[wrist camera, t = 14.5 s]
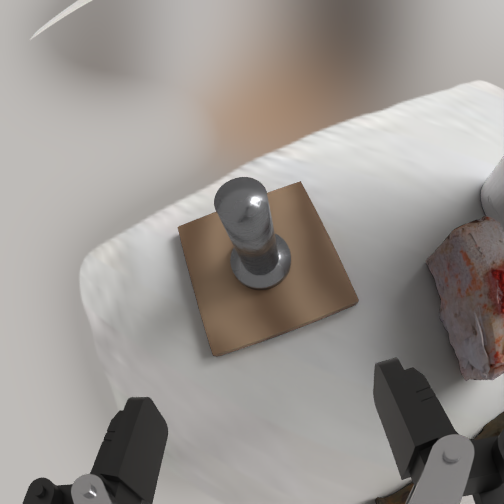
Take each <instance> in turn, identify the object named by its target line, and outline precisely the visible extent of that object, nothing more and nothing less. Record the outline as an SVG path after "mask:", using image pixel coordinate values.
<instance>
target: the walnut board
mask: <svg viewBox="0 0 504 504" xmlns="http://www.w3.org/2000/svg"><path fill="white" fill-rule="evenodd" d="M267 196H268V201H269V206H270V212H271V217H272V222H273V227H274V233H275V234H277V235H279V236H280V237H282V238H283V239H284V240H285V242H286V243H287V245H288V247H289V249H290V253H291V267H290V271H289V273H288V275H287V277H286V278H285V279H284V280H283V281H282V282H281V283H280V284H279V285H277V286H276V287H273V288H271V289H268V290H254V289H250V288H248V287H246V286H244V285H243V284H242V283H241V282H239V280H238V279H237V278H236V276H235V274H234V273H233V271H232V268H231V263H230V257H231V253H232V250H233V248H234V246H233V244H232V242H231V240H230V238H229V236H228V234H227V232H226V230H225V228H224V226H223V224H222V222H221V220H220V218H219V216H218V214H217V212H215V213H212V214H209V215H207V216H204V217H202V218H199V219H196V220H194V221H191V222H189V223H186V224H184V225H181V226H179V227H178V231H179V235H180V239H181V243H182V247H183V251H184V255H185V259H186V263H187V266H188V270H189V274H190V278H191V282H192V285H193V289H194V293H195V296H196V300H197V303H198V307H199V310H200V314H201V317H202V321H203V324H204V328H205V331H206V334H207V338H208V341H209V344H210V347H211V351H212V354H213V356H217V357H218V356H221V355H224V354H227V353H230V352H233V351H236V350H239V349H242V348H245V347H248V346H251V345H254V344H257V343H260V342H262V341H265V340H268V339H271V338H274V337H276V336H279V335H282V334H284V333H287V332H290V331H292V330H295V329H298V328H300V327H303V326H305V325H308V324H310V323H313V322H315V321H318V320H320V319H323V318H325V317H328V316H330V315H333V314H335V313H337V312H340V311H342V310H345V309H347V308H349V307H352V306H354V305H356V304H357V303H358V301H359V300H358V297H357V295H356V293H355V291H354V288H353V286H352V284H351V282H350V280H349V277H348V275H347V273H346V271H345V269H344V267H343V265H342V262H341V260H340V258H339V256H338V254H337V252H336V250H335V248H334V246H333V244H332V242H331V240H330V237H329V235H328V233H327V231H326V229H325V227H324V225H323V223H322V221H321V219H320V217H319V215H318V214H317V212H316V210H315V208H314V206H313V204H312V202H311V200H310V198H309V196H308V194H307V192H306V190H305V189H304V187H303V185H302V183H301V181H300V182H297V183H294V184H291V185H288V186H286V187H283V188H280V189H277V190H274V191H271V192H269V193H267Z"/></svg>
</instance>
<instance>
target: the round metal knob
mask: <svg viewBox="0 0 504 504" xmlns="http://www.w3.org/2000/svg"><path fill="white" fill-rule="evenodd" d="M214 206H215V209H216V212H217V214H218V216H219V218H220V220H221V222H222V224H223V226H224V228H225V230H226V232H227V234H228V236H229V238H230V240H231V242H232V244H233V246H234V248H233V250H232V253H231V257H230V263H231V268H232V271H233V273H234V274H235V276H236V278H237V279H238V280H239V282H241V283H242V284H243V285H244V286H246V287H248V288H250V289H254V290H268V289H271V288H273V287H276V286H277V285H279V284H280V283H281V282H282V281H283V280H284V279H285V278H286V277H287V275H288V273H289V271H290V267H291V253H290V249H289V247H288V245H287V243H286V242H285V240H284V239H283V238H282V237H280V236H279V235H277V234H275V233H274V227H273V222H272V217H271V212H270V206H269V201H268V196H267V191H266V189H265V187H264V186H263V185H262V184H261V183H260V182H259V181H257V180H255V179H253V178H248V177H239V178H235V179H232V180H230V181H228V182H226V183H225V184H224V185H222V186H221V187H220V189H219V190H218V191H217V193H216V196H215V199H214Z"/></svg>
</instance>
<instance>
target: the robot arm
mask: <svg viewBox="0 0 504 504" xmlns="http://www.w3.org/2000/svg"><path fill="white" fill-rule="evenodd" d="M481 203H482V207H483V210H484V212H485V214H486V216H487V217H491V218H493V219H495V220H496V221H498V222H500V226H501V227H502V230H503V232H504V156H503V157H502V159H501V160H500V162H499V163H498V165H497V166H496V167H495V169H494V170H493V172H492V173H491V175H490V176H489V177H488V179H487V180H486V182H485V183H484V185H483V186H482V189H481ZM373 395H374V402H375V406H376V409H377V411H378V414H379V417H380V419H381V422H382V425H383V427H384V430H385V433H386V436H387V438H388V441H389V444H390V447H391V450H392V452H393V455H394V458H395V461H396V464H397V467H398V470H399V473H400V476H401V479H402V480H403V479H406V478H408V477H411V478H412V481H413V484H414V486H413V488H412V490H411V492H410V494H409V497H408V499H407V501H406V503H405V504H460V502H461V499H462V496H467V495H473V498H474V501H475V504H504V429H503V431H502V432H501V433H500V435H499V436H494V437H489V438H484V439H478V440H471V439H468V438H466V437H465V436H462V435H459V434H458V433H457V432H456V431H455V429H454V428H453V426H452V424H451V422H450V420H449V418H448V417H447V415H446V413H445V411H444V409H443V407H442V406H441V404H440V402H439V400H438V399H437V398H436V396H435V393H434V392H433V390H432V389H431V388H430V385H429V383H428V381H427V380H426V378H425V376H424V375H423V374H421V373H420V372H419V371H417V370H416V369H414V368H410V369H407V370H404V369H403V367H402V365H401V363H400V362H399V360H398V359H397V358H392V359H389V360H386V361H382V362H379V363H376V364H375V371H374V389H373ZM167 437H168V427H167V424H166V421H165V420H164V418H163V417H162V415H161V414H160V412H159V410H158V409H157V407H156V406H155V404H154V403H153V401H152V400H151V398H149V397H131V398H129V399H128V400H127V403H126V405H125V408H124V410H123V411H119V412H118V413H117V414H116V415H115V417H114V418H113V419H112V420H111V422H110V425H109V427H108V430H107V433H106V435H105V437H104V441H103V442H102V445H101V447H100V450H99V452H98V455H97V457H96V460H95V462H94V466H93V468H92V470H91V472H90V474H87V475H83V476H81V477H79V478H78V479H76V480H75V482H74V483H73V484H71V485H59V486H56V485H54V484H53V483H52V482H51V481H50V480H48V479H46V478H38V479H36V480H34V481H33V482H32V483H31V484H30V486H29V488H28V491H27V493H26V496H25V499H24V501H23V504H152V502H153V498H154V494H155V489H156V485H157V480H158V476H159V471H160V467H161V463H162V458H163V454H164V450H165V446H166V441H167Z"/></svg>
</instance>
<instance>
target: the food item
mask: <svg viewBox="0 0 504 504" xmlns="http://www.w3.org/2000/svg"><path fill="white" fill-rule="evenodd" d="M483 218H484V219H483ZM483 218H482V219H480V220H475V221H472V222H469V223H467V224H465V225H462V226H460V227H458V228H456V229H454V230H453V231H452V232H451V234H450V235H449V236H448V237H447V238H446V239H445V241H444V242H443V243H442V244H441V245H440V246H439V247H438V248H437V249H436V250H435V252H434V253H433V254H432V255H431V256H430V257H429V258H428V259H427V260H426V263H427V265H428V267H429V269H430V271H431V273H432V275H433V277H434V279H435V282H436V287H437V290H438V293H439V296H440V298H441V306H440V312H439V313H440V320H441V321H442V322H443V325H444V327H445V330H447V331H448V332H449V341H450V344H451V345H452V346H453V348H454V349H455V354H456V356H457V358H458V360H459V365H460V371H461V373H462V374H461V375H462V376H464V379H465V380H466V381H467V380H469V379H473V380H482V379H483V380H488V379H489V380H494V379H495V378H497V377H498V376H500V375H501V374H503V373H504V232H503V230H502V227H501V226H500V222H498V221H496V220H495V219H493V218H491V217H486V216H484V217H483Z"/></svg>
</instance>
